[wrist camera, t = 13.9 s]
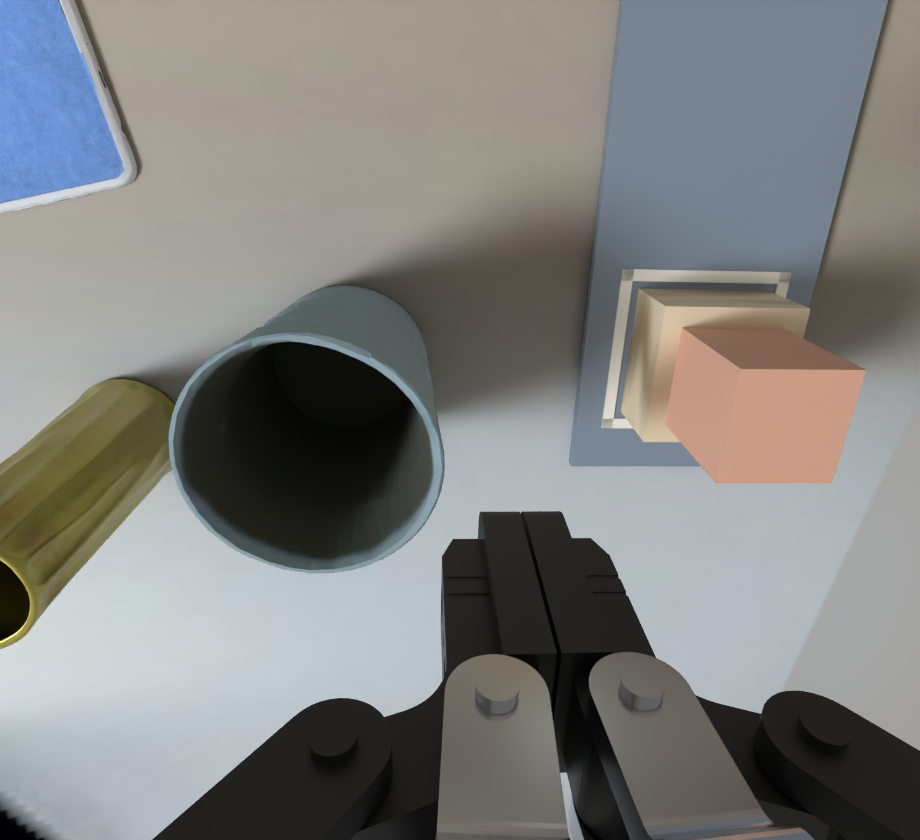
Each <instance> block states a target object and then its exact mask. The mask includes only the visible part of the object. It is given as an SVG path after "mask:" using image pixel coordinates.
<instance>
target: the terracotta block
mask: <svg viewBox="0 0 920 840" xmlns="http://www.w3.org/2000/svg"><path fill="white" fill-rule="evenodd" d="M865 372H866V370H865V369H863V368H861V367H859V366H857V365H855V364H853V363H851V362H849V361H847V360H845V359H843V358H841V357H839V356H837V355H835V354H833V353H831V352H829V351H827V350H825V349H823V348H821V347H819V346H817V345H815V344H813V343H811V342H809V341H807V340H805V339H803V338H801V337H799V336H797V335H795V334H793V333H791V332H789V331H787V330H785V329H748V328H682V329H681V335H680V341H679V346H678V352H677V358H676V364H675V369H674V375H673V381H672V387H671V393H670V398H669V404H668V410H667V416H666V421H665V425H666V426H667V427H668V428H669V430H670V431H671V432H672V433H673V434H674V435H675V436H676V438H677V439H678V440H679V441H680V442H681V443H682V445H683V446H684V447H685V448H686V449H687V450H688V451H689V453H690V454H691V455H692V456H693V457H694V458H695V460H696V461H697V462H698V463H699V464H700V465H701V466H702V468H703V469H704V470H705V471H706V472H707V473H708V474H709V476H710V477H711V478H712V479H713V480H714V481H715V483H832V481H833V477H834V474H835V471H836V467H837V464H838V461H839V458H840V454H841V451H842V448H843V444H844V441H845V438H846V435H847V431H848V428H849V425H850V421H851V418H852V415H853V411H854V408H855V405H856V402H857V398H858V395H859V392H860V388H861V385H862V382H863V379H864V375H865Z"/></svg>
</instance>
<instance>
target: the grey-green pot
mask: <svg viewBox="0 0 920 840" xmlns="http://www.w3.org/2000/svg"><path fill="white" fill-rule="evenodd" d="M434 402H435V396H434V390H433V382H432V377H431V374H430V369H429V361H428V354H427V350H426V346H425V342H424V339H423V337H422V335H421V333H420V330H419V328H418V327H417V325H416V324H415V322H414V321H413V319H412V318H411V316H410V315H409V314H408V313H407V312H406V311H405V310H404V309H403V308H402V307H401V306H399V305H398V304H397V303H396V302H394V301H393V300H391V299H390V298H388V297H386V296H384V295H382V294H380V293H378V292H376V291H373V290H369V289H366V288H363V287H356V286H332V287H326V288H322V289H319V290H316V291H314V292H311V293H309V294H307V295H305V296H303V297H302V298H300V299H299V300H297V301H296V302H295V303H293V304H292V305H290V306H289V307H288V308H286V309H285V310H283V311H282V312H280V313H279V314H278V315H277V316H276V317H273V318H272V319H270V320H268V321H267V322H266V324H265V325H264V326H263V327H260V328H256V329H255V330H254V331H253V332H251V333H249V334H248V335H246V336H245V337H243V338H241V339H240V340H238V341H236V342H234V343H233V344H231V345H229V346H228V347H226V348H224V349H222V350H221V351H219V352H217V353H216V354H215V355H213V356H212V357H211V358H209V359H208V360H207V361H206V362H205V363H204V364H203V365H202V366H201V367H199V368H198V369H197V370H196V371H195V373H194V374H193V375H192V377H191V378H190V379H189V380H188V382H187V383H186V385H185V386H184V388H183V390H182V392H181V393H180V395H179V398H178V400H177V402H176V405H175V408H174V411H173V414H172V418H171V423H170V429H169V455H170V461H171V465H172V469H173V474H174V477H175V480H176V483H177V486H178V489H179V491H180V492H181V494H182V496H183V498H184V499H185V501H186V503H187V505H188V507H189V508H190V510H191V511H192V512H193V513H194V514H195V515H196V517H197V518H198V519H199V520H200V521H201V523H202V524H203V525H204V526H205V527H206V529H207V530H208V531H210V532H211V533H212V534H214V535H215V536H216V537H217V538H219V539H220V540H221V541H223V542H224V543H225V544H226V545H228V546H229V547H231V548H233V549H234V550H236V551H238V552H240V553H242V554H243V555H245V556H247V557H250V558H253V559H255V560H258V561H261V562H264V563H267V564H269V565H272V566H275V567H278V568H280V569H285V570H291V571H298V572H305V573H334V572H342V571H349V570H353V569H357V568H361V567H364V566H367V565H369V564H372V563H374V562H377V561H379V560H381V559H384V558H385V557H387V556H389V555H391V554H392V553H394V552H395V551H397V550H398V549H400V548H401V547H402V546H404V545H405V544H406V543H407V542H408V541H410V540H411V539H412V538H413V537H414V536H415V535H416V534H417V533H418V532H419V531H420V529H421V528H422V527H423V526H424V524H425V523H426V521H427V519H428V518H429V516H430V514H431V513H432V511H433V509H434V508H435V506H436V503H437V500H438V498H439V495H440V492H441V488H442V483H443V478H444V468H445V464H444V449H443V444H442V439H441V434H440V429H439V424H438V417H437V413H436V408H435V404H434Z"/></svg>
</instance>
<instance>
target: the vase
mask: <svg viewBox="0 0 920 840" xmlns="http://www.w3.org/2000/svg"><path fill="white" fill-rule="evenodd" d="M174 408H175V405H174V404H173V402H172V401H171V400H170V399H169V398H168V397H166V396H165V395H164V394H163V393H161V392H160V391H158V390H156V389H155V388H153V387H150V386H148V385H146V384H143V383H140V382H137V381H133V380H125V379H114V380H107V381H104V382H101V383H99V384H96V385H94V386H92V387H91V388H89V389H88V390H87V391H85V392H84V393H83V394H82V395H81V397H80V398H79V399H78V400H77V401H76V402H75V403H73V404H72V405H71V406H70V407H68V408H67V409H66V410H65V411H64V412H62V413H61V414H60V415H59V416H58V417H56V418H55V419H54V420H53V421H52V422H51V423H49V424H48V425H47V426H46V427H45V428H44V429H43V430H41V431H40V432H39V433H38V434H37V435H36V436H35V437H34V438H32V439H31V440H30V441H29V442H28V443H27V444H26V445H24V446H23V447H22V448H21V449H20V450H18V451H17V452H16V453H14V454H13V455H12V456H10V457H9V458H7V459H6V460H5V461H3V462H2V463H1V464H0V649H2V648H4V647H7V646H9V645H11V644H13V643H15V642H17V641H19V640H20V639H22V638H23V637H24V636H25V635H26V634H27V633H28V632H29V631H30V629H31V628H32V627H33V625H34V624H35V622H36V621H37V620H38V619H39V617H40V616H41V615H42V614H43V612H44V611H45V610H46V608H47V607H48V606H49V605H50V604H51V603H52V601H53V600H54V599H55V598H56V597H57V596H58V594H59V593H60V592H61V591H62V589H63V588H64V587H65V586H66V585H67V583H68V582H69V581H70V580H71V579H72V578H73V577H74V576H75V574H76V573H77V572H78V571H79V570H80V569H81V568H82V567H83V566H84V565H85V564H86V562H87V561H88V560H89V559H90V558H91V557H92V556H93V555H94V554H95V552H96V551H97V550H98V549H99V548H100V547H101V546H102V545H103V543H104V542H105V541H106V540H107V539H108V538H109V537H110V536H111V535H112V533H113V532H114V531H115V530H116V529H117V528H118V527H119V526H120V525H121V524H122V522H123V521H124V520H125V519H126V518H127V517H128V516H129V515H130V513H131V512H132V511H133V510H134V509H135V508H136V507H137V506H138V505H139V503H140V502H141V501H142V500H143V499H144V498H145V497H146V496H147V495H148V494H149V493H150V491H151V490H152V489H153V488H154V487H155V486H156V485H157V483H158V482H159V481H160V480H161V478H162V477H163V476H164V475H165V474H167V473H168V472H169V471H171V470H172V465H171V461H170V455H169V429H170V423H171V418H172V414H173V411H174Z"/></svg>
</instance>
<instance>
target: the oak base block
mask: <svg viewBox="0 0 920 840" xmlns="http://www.w3.org/2000/svg"><path fill="white" fill-rule="evenodd" d="M810 310H811V309H810V308H808V307H806V306H803V305H801V304H798V303H796V302H794V301H791V300H789V299H786V298H784V297H782V296H779V295H777V294H774V293H772V292H770V291H748V290H693V289H638V296H637V303H636V310H635V317H634V324H633V331H632V338H631V345H630V351H629V358H628V365H627V372H626V379H625V386H624V393H623V400H622V407H621V412H622V414H623V415H624V417H625V418H626V419H627V421H628V422H629V423H630V425H631V426H632V427H633V429H634V430H635V431H636V433H637V434H638V435H639V437H640V438H641V439H642V441H643V442H680V441H679V440H678V439H677V438H676V436H675V435H674V434H673V433H672V432H671V431H670V430H669V428H668V427H667V426H666V425H665V421H666V416H667V410H668V404H669V398H670V393H671V387H672V381H673V375H674V369H675V364H676V358H677V352H678V346H679V341H680V335H681V329H682V328H748V329H785V330H787V331H789V332H791V333H793V334H795V335H797V336H799V337H801V338H804V334H805V330H806V326H807V322H808V318H809V314H810Z"/></svg>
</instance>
